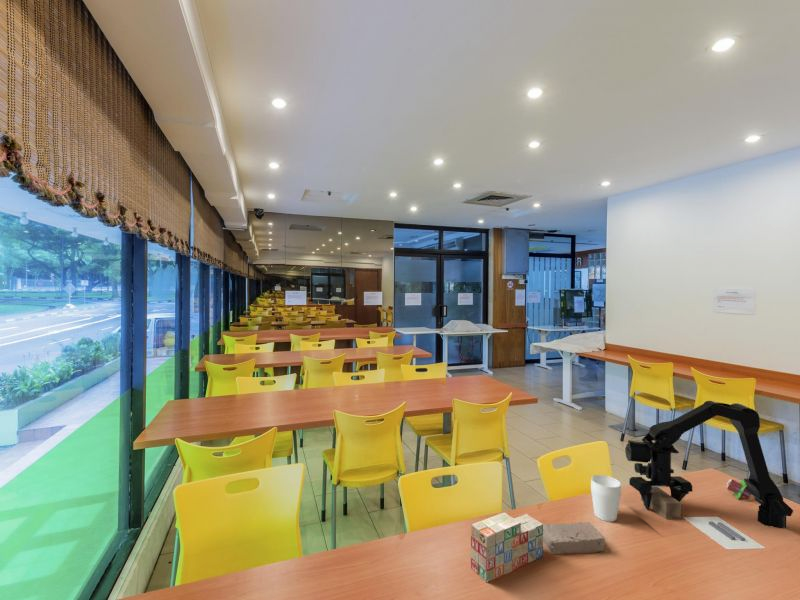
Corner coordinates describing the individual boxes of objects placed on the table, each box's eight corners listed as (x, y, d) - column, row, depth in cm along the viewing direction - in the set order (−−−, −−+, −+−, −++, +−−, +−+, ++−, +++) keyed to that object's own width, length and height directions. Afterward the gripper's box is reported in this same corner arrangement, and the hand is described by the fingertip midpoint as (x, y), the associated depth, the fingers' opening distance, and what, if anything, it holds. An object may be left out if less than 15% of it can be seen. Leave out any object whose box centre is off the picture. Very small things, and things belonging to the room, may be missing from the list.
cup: (621, 514, 130) (621, 479, 130) (619, 527, 123) (620, 490, 122) (591, 506, 135) (592, 472, 135) (588, 518, 127) (589, 482, 127)
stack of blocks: (526, 544, 114) (527, 503, 114) (543, 557, 108) (544, 513, 108) (470, 568, 103) (470, 523, 103) (486, 583, 98) (486, 536, 98)
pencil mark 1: (712, 524, 122) (712, 521, 122) (735, 539, 114) (735, 537, 114) (708, 524, 122) (708, 521, 122) (731, 540, 114) (731, 537, 114)
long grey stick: (721, 524, 122) (721, 522, 122) (744, 540, 114) (745, 538, 114) (717, 524, 122) (717, 522, 122) (741, 540, 114) (741, 538, 114)
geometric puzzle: (754, 491, 143) (738, 471, 145) (762, 499, 137) (745, 479, 139) (734, 499, 145) (719, 479, 147) (742, 508, 139) (725, 487, 141)
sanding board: (717, 521, 127) (717, 516, 127) (765, 553, 111) (765, 548, 111) (682, 521, 126) (682, 517, 126) (726, 554, 110) (726, 549, 110)
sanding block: (654, 504, 137) (654, 484, 137) (680, 524, 125) (680, 503, 125) (641, 504, 137) (641, 485, 137) (665, 524, 125) (666, 503, 125)
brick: (551, 556, 109) (551, 539, 109) (538, 537, 117) (538, 522, 117) (606, 553, 110) (606, 537, 110) (589, 535, 119) (589, 520, 119)
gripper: (669, 453, 139) (668, 496, 139) (619, 454, 138) (619, 497, 138) (694, 467, 128) (693, 513, 128) (640, 467, 127) (640, 514, 127)
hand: (660, 508), depth 131 cm, fingers open, 9 cm apart
